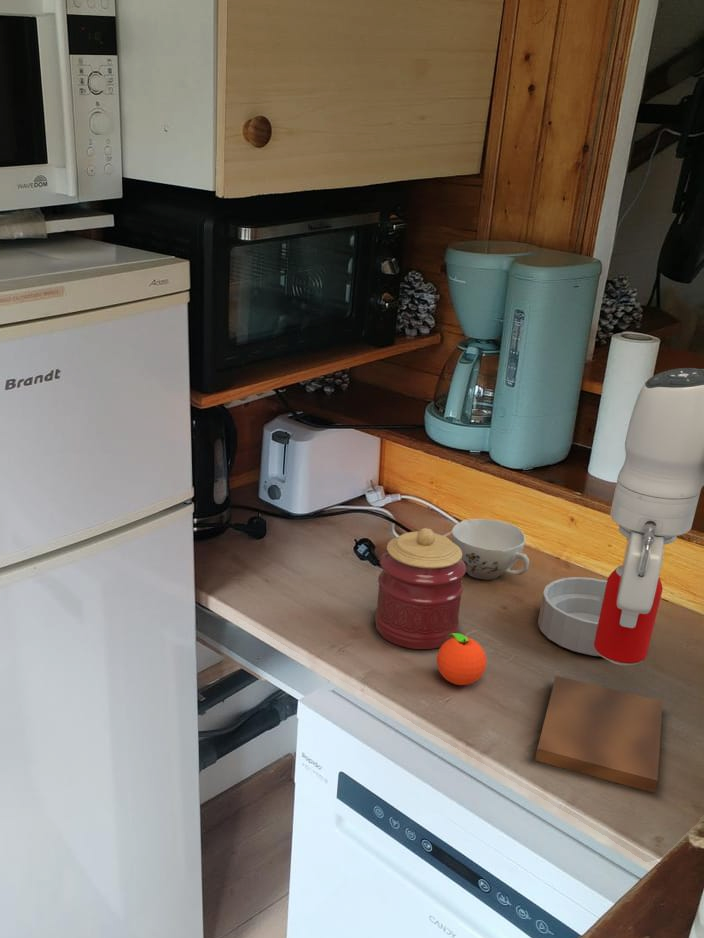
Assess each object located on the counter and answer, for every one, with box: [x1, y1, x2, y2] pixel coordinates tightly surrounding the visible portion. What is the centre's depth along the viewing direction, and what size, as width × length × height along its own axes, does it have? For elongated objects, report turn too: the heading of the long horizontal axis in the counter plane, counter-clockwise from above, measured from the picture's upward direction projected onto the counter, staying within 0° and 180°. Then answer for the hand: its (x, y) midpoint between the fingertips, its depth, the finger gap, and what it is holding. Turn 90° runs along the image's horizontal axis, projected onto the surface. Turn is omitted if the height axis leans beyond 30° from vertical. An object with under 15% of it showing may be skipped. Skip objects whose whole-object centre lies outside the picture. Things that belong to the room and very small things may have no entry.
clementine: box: [436, 632, 487, 686], centre depth 130 cm, size 8×7×7 cm
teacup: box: [451, 517, 530, 581], centre depth 159 cm, size 15×12×8 cm
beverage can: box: [594, 565, 663, 666], centre depth 112 cm, size 6×6×12 cm
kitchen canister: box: [374, 527, 467, 650], centre depth 140 cm, size 13×13×18 cm
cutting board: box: [534, 675, 663, 794], centre depth 119 cm, size 14×18×2 cm
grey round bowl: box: [537, 576, 607, 657], centre depth 142 cm, size 15×15×6 cm
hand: (629, 610), depth 112 cm, fingers closed on beverage can, 6 cm apart
